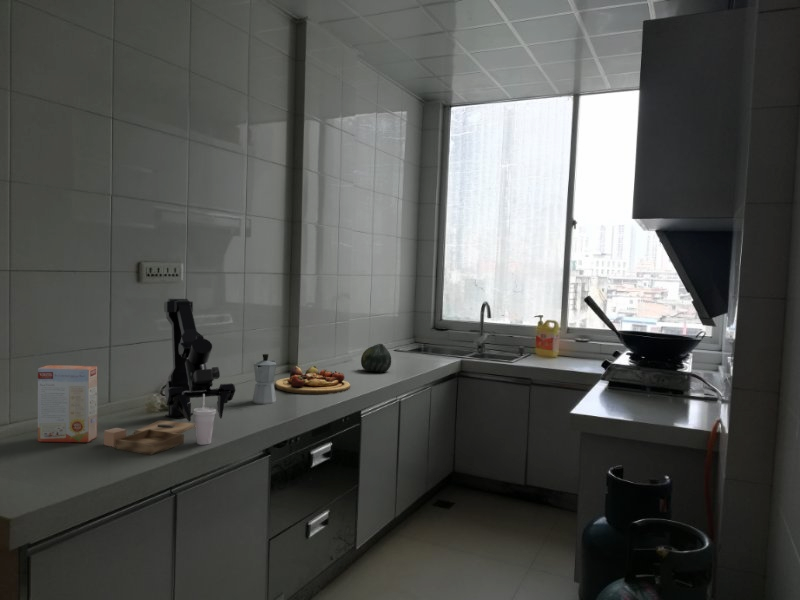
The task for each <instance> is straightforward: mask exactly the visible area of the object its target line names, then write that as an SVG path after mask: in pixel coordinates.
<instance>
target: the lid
mask: <svg viewBox="0 0 800 600" xmlns="http://www.w3.org/2000/svg"><path fill="white" fill-rule="evenodd" d="M194 427H195V422H194V423H192V422H181V421H170V420H160V419H159V420H157V421H155V422H152V423H150V424H148V425H145V426H142V427H140V428H137V429H135V430H134V431H135V433H138V432H141V431H144V430H147V429H153V430H160V431H166V432H172V433H178V434H183V433H184V432H186V431H188V430H190V429H193V428H194ZM135 433H134V434H135Z"/></svg>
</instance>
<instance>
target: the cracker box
mask: <svg viewBox="0 0 800 600" xmlns="http://www.w3.org/2000/svg"><path fill="white" fill-rule="evenodd" d="M97 437H98V366H97V365H95V366H93V365H65V364H64V365H62V364H61V365H58V364H57V365H53V364H52V365H50V364H48V365H45V366H41V367H39V368H37V442H41V443H42V442H45V443H48V442H49V443H50V442H51V443H55V442H56V443H89V442H90V441H93V440H94V439H96V438H97Z"/></svg>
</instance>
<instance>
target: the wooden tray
mask: <svg viewBox="0 0 800 600" xmlns="http://www.w3.org/2000/svg"><path fill="white" fill-rule="evenodd" d="M184 439H185V434H183V433H180V434H178V433H172V432H166V431H160V430H153V429H147V430H144V431H141V432H138V433H131V434H129V435H126V436H125V437H122V438H119V439H116V447H115V449H116V450H123V451H127V452H133V453H136V454H137V453H139V454H144V455H147V456H148V455H149V456H152V455H156V454H158V453H161V452H164V451H166V450H169V449H171V448H174V447H178V446H180V445H182V444H184V443H185V440H184Z"/></svg>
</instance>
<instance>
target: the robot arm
mask: <svg viewBox="0 0 800 600" xmlns="http://www.w3.org/2000/svg"><path fill="white" fill-rule="evenodd" d="M163 310H164V313H165V318H166V320H167V321H168V322H169V324H170V325H171V340H172V341H171V345H172V346H171V347H172V370H171V371H170V372H169V373H170V374H169V375H168V380H166V381H167V382H166V385H165V388H164V398H165V403H166V404H165V405H166V406H167V407H168V413H167V414H164V416H165V417H166V418H167V417H168V418H175V419H182V418H185V419H186V420H187V421H188V423H191V420H192V418H191V416H192V415H193V416H194V414H193V412H192V411H191V410H192V407H191V406H192V402H191V398H193V399H194V398H195V399H198V398H203V394H205V398H211V397H217V401H216V405H217V411H218V417H219V419H221V420H222V418H223V414H224V408H225V404H228V402H229V401H232V400H233V397H234V396H235V392H236V386H235V384H234V383H232V382H231V383H220V384H219V387H218V388H216V389H215V388H213V389H212V387H213V381H214V380H218V379H219V378H220V377H221V376H220V374H221V373H220V369H219V367H218V366H216V367H215V366H214V367H211V368H207V365H206V363H209V359H210V355H211V352H212V348H213V344H212V343H211V341H210V340H208V339H206V338H204V337H205V336H204V335H203V334H201V333H199V332H198V330H197V327H196V323H195V318H194V301H190V300H189V299H188V298H168V299H167V301H164V304H163Z"/></svg>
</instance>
